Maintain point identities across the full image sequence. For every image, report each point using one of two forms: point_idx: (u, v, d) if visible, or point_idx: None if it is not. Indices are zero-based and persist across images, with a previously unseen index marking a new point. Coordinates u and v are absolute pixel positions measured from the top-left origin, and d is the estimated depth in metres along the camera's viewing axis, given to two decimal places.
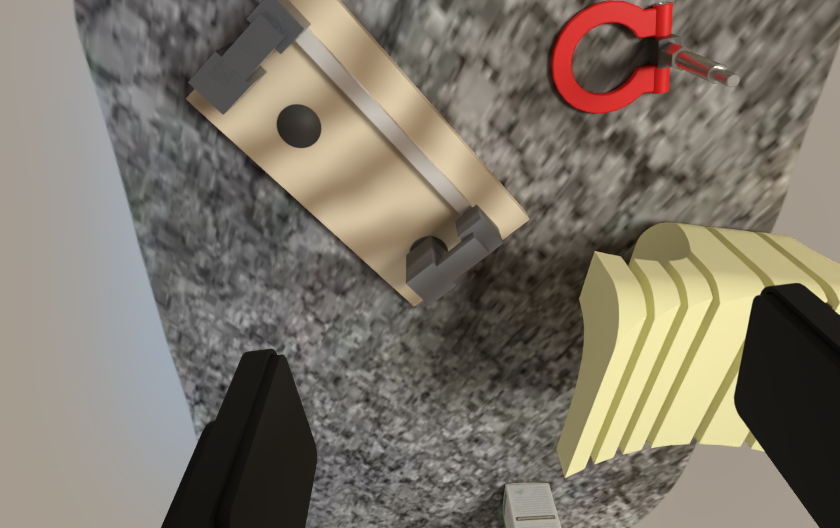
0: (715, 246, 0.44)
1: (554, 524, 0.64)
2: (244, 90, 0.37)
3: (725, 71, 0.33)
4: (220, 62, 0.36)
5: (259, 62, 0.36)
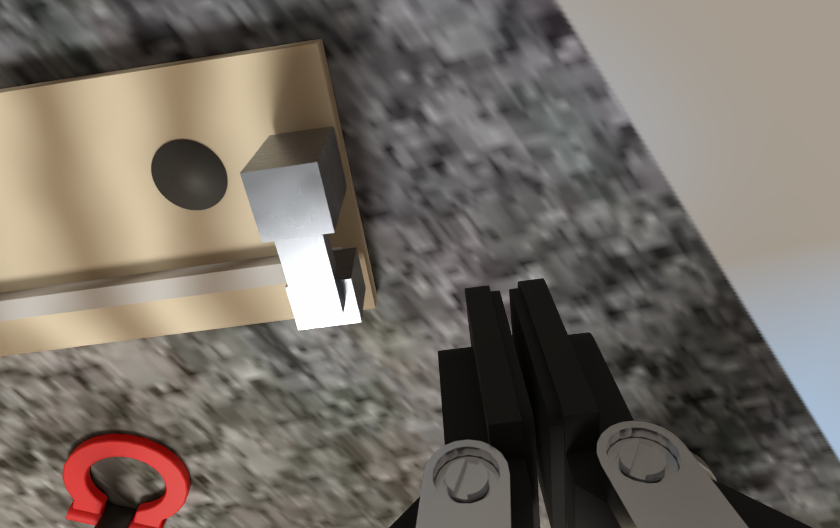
0: None
1: None
2: (260, 229, 0.22)
3: None
4: (316, 228, 0.22)
5: (286, 274, 0.23)
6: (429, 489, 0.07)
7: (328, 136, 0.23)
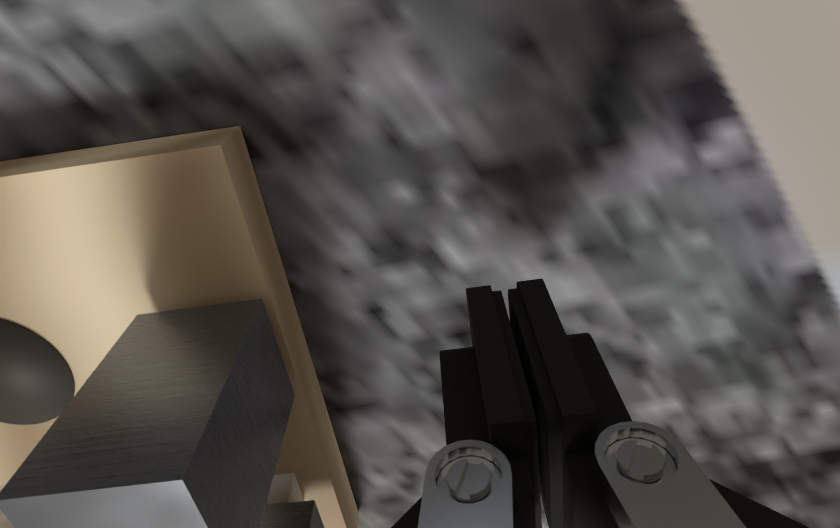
0: None
1: None
2: None
3: None
4: None
5: None
6: (431, 489, 0.07)
7: (242, 341, 0.11)
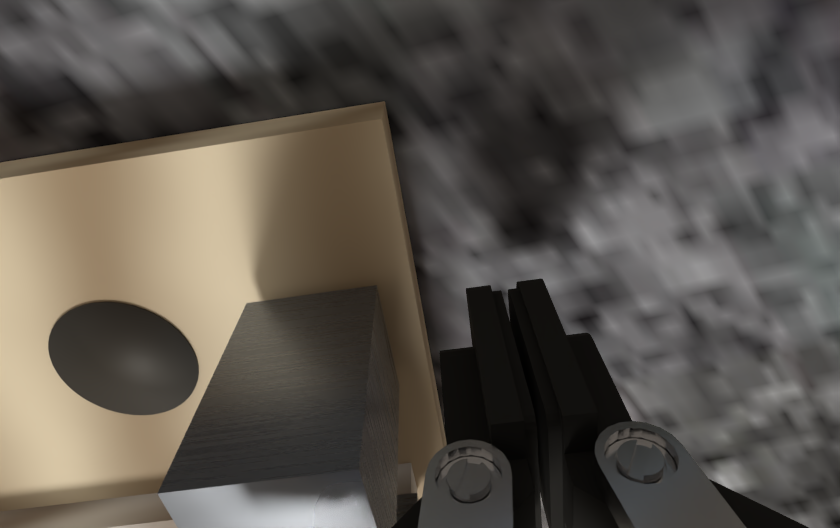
0: None
1: None
2: None
3: None
4: None
5: None
6: (431, 489, 0.07)
7: (371, 328, 0.11)
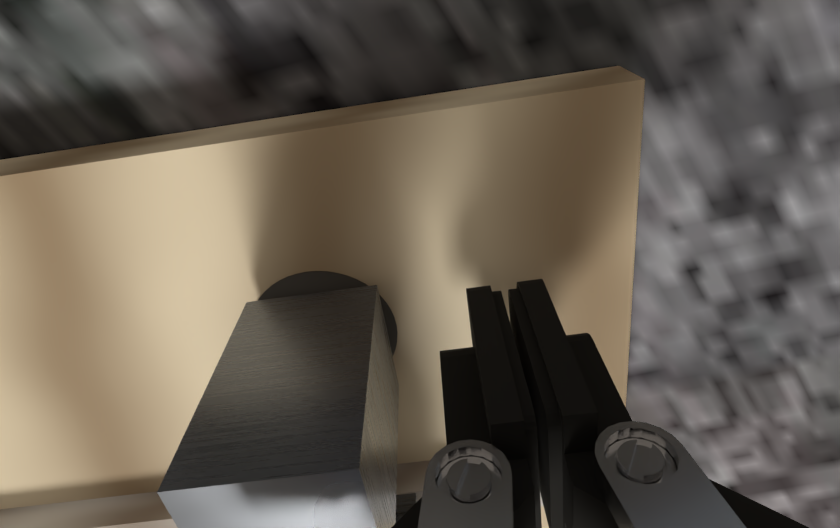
0: None
1: None
2: None
3: None
4: None
5: None
6: (431, 489, 0.07)
7: (372, 328, 0.11)
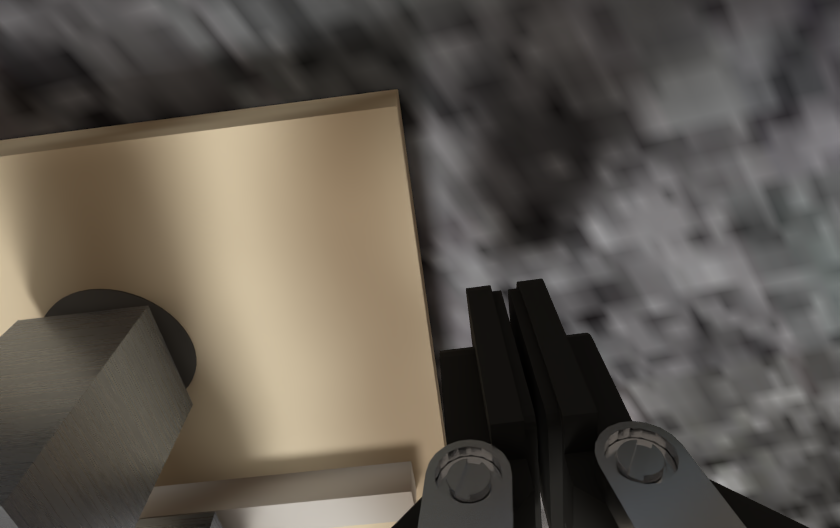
0: None
1: None
2: None
3: None
4: None
5: None
6: (431, 489, 0.07)
7: (113, 352, 0.11)
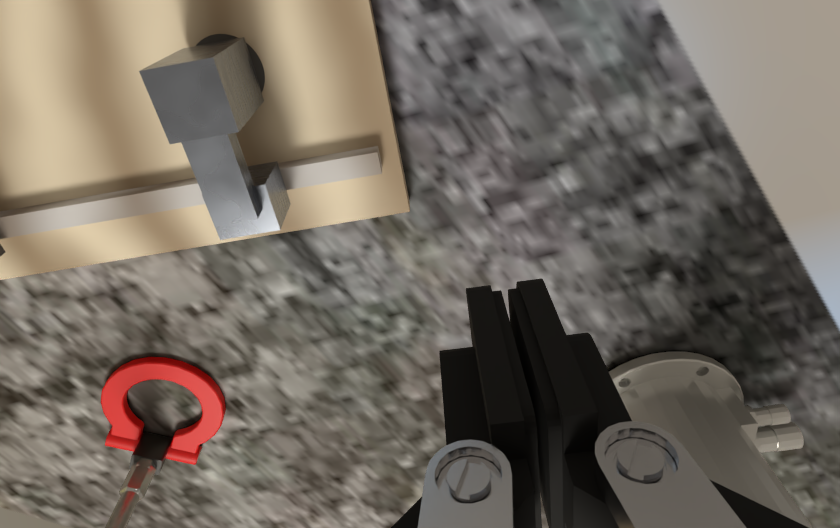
0: None
1: None
2: (166, 130, 0.22)
3: None
4: (220, 127, 0.22)
5: (197, 177, 0.24)
6: (431, 489, 0.07)
7: (235, 43, 0.24)
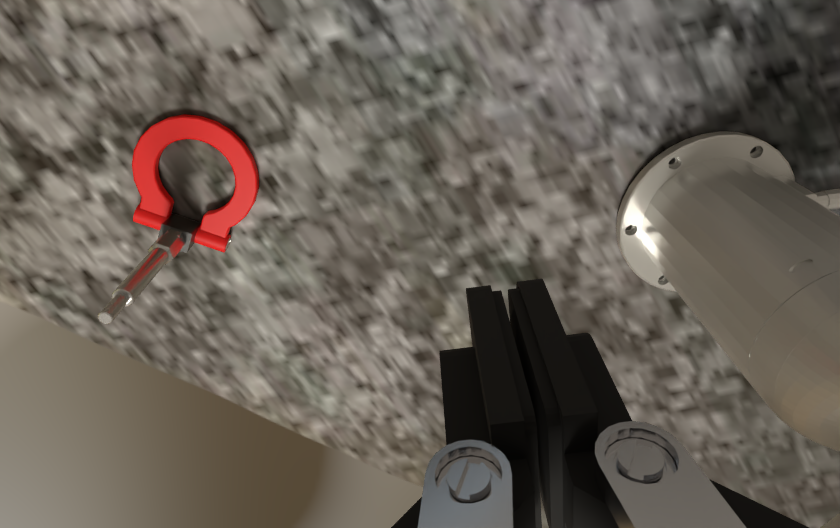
0: None
1: None
2: None
3: (120, 310, 0.30)
4: None
5: None
6: (431, 489, 0.07)
7: None
